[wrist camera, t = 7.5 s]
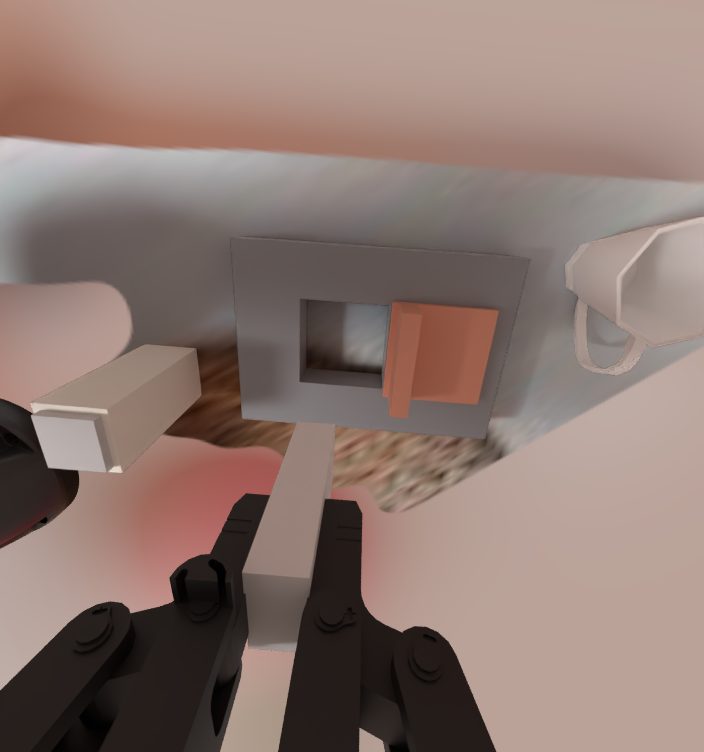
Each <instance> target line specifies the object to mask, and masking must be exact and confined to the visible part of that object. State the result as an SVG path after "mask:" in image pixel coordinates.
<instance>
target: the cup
mask: <svg viewBox="0 0 704 752" xmlns="http://www.w3.org/2000/svg"><path fill="white" fill-rule="evenodd" d="M565 280H566V288H567V289H569V290H570V291H572V292H573V293H575V294H576V295H577V296H578V300H577V303H576V306H575V315H574V347H575V352H576V356H577V359H578V361H579V362H580V363H581V365H582V366H583V367H584V368H586V369H588V370H590V371H592V372H597V373H603V374H609V375H619V374H621V373H624V372H626V371H629V370H631V368H632V367H633V366H634V365H635V364H636V363H637V362H638V360H639V359H640V357H641V355H642V353H643V352H644V350H645V348H646V345H648V346H650V347H651V348H654V347H659V346H664V345H668V344H673V343H677V342H682V341H686V340H691V339H695V338H700V337H704V216H700V217H695V218H690V219H686V220H681V221H677V222H672V223H667V224H661V225H656V226H651V227H646V228H641V229H637V230H634V231H630V232H626V233H623V234H619V235H615V236H611V237H606V238H602V239H599V240H595V241H591V242H587V243H584V244H581V245H580V247H579V248H578V249H577V250H576V252H575V253H574V254H573V255H572V257H571V258H570V259H569V261H568V262H567V263H566V264H565ZM588 305H589V306H590V307H592V308H593V309H595V310H596V311H598V312H599V313H600V314H602V315H603V316H604V317H606V318H607V319H609V320H610V321H612V322H613V323H615V324H616V325H618V326H619V327H621V328H622V329H624V330H625V331H627V332H628V333H629V335H628V339H627V344H626V347H625V350H624V353H623V356H622V359H621V360H620V361H619V362H618V363H617V364H616V365H613V366H611V367H608V368H606V369H603V368H601V367H598V366H596V365H595V364H594V363H593V361H592V360H591V359H590V357H589V353H588V347H587V335H586V318H587V309H588Z"/></svg>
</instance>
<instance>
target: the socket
mask: <svg viewBox="0 0 704 752" xmlns="http://www.w3.org/2000/svg"><path fill="white" fill-rule="evenodd" d="M230 242H231V257H232V272H233V287H234V302H235V317H236V332H237V348H238V363H239V378H240V393H241V408H242V419H251V420H263V421H275V422H287V423H297V421H299V422H312V423H326V424H335V427H346V428H358V429H370V430H381V431H393V432H405V433H417V434H429V435H441V436H452V437H464V438H476V439H485V436H486V432H487V429H488V425H489V421H490V417H491V413H492V409H493V405H494V401H495V397H496V393H497V389H498V385H499V381H500V377H501V373H502V369H503V365H504V361H505V357H506V353H507V349H508V345H509V341H510V337H511V333H512V329H513V325H514V321H515V318H516V314H517V310H518V306H519V302H520V298H521V294H522V290H523V286H524V282H525V278H526V274H527V270H528V266H529V262H530V259H527V258H521V257H516V256H508V255H494V254H480V253H466V252H452V251H438V250H424V249H411V248H397V247H383V246H369V245H355V244H341V243H327V242H314V241H300V240H286V239H272V238H258V237H231V238H230ZM307 299H308V300H321V301H334V302H348V303H361V304H374V305H387V306H388V316H387V325H386V335H385V344H384V353H383V363H382V372H381V374H373V373H361V372H348V371H336V370H323V369H311V368H306V339H307ZM393 301H397V302H410V303H423V304H436V305H450V306H463V307H476V308H489V309H497V310H499V314H498V318H497V322H496V327H495V331H494V335H493V340H492V344H491V348H490V352H489V357H488V361H487V365H486V370H485V374H484V378H483V383H482V387H481V391H480V396H479V400H478V404H477V405H474V404H462V403H450V402H438V401H425V400H413V399H410V404H409V410H408V417H407V418H397V417H390V413H389V403H388V397H383V385H384V376H385V367H386V358H387V349H388V340H389V331H390V322H391V313H392V304H393Z"/></svg>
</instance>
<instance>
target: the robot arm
mask: <svg viewBox="0 0 704 752" xmlns="http://www.w3.org/2000/svg"><path fill="white" fill-rule="evenodd" d="M31 415H32V413H31V412H29V411H27V410H26V409H24V408H22V407H20V406H18V405H16V404H14V403H11V402H9V401H6V400H4V399H0V549H1V548H3V547H4V546H6V545H8V544H10V543H12V542H14V541H16V540H18V539H20V538H22V537H23V536H26V535H27V534H29V533H31V532H33V531H35V530H37V529H39V528H41V527H43V526H45V525H47V524H48V523H49V522H51V521H52V520H53V519H55V518H56V517H57V516H58V515H59V514H60V513H61V512H62V511H63V510H65V509H66V508H67V507H68V506H69V505H70V504H71V503H72V502H73V500H74V499H75V497H76V495H77V492H78V488H79V474H78V470H68V469H57V468H48V466H47V463H46V460H45V457H44V454H43V451H42V448H41V445H40V442H39V439H38V436H37V433H36V430H35V427H34V424H33V421H32V418H31ZM334 441H335V424H326V423H312V422H299V421H297V424H296V427H295V429H294V432H293V435H292V437H291V440H290V443H289V446H288V448H287V451H286V454H285V457H284V459H283V462H282V465H281V467H280V471H279V473H278V476H277V478H276V481H275V484H274V486H273V489H272V492H271V495H260V494H247V493H246V494H245V495H244V496H243V497H242V498H241V499H240V500H238V501H237V502H236V503H235V504H234V506H233V508H232V510H231V512H230V514H229V516H228V518H227V521H226V522H225V524H224V526H223V528H222V532H221V533H220V535H219V537H218V539H217V541H216V543H215V545H214V547H213V549H212V551H211V553H210V554H205V555H199V556H196V557H194V558H191V559H189V560H187V561H186V562H185V563H183V564H182V565H180V566H179V567H178V568H177V569H176V570H175V571H174V573H173V574H172V575H171V576H170V583H171V588H172V593H173V598H174V601H173V602H171V603H169V604H166V605H163V606H160V607H156V608H152V609H148V610H143V611H139V612H135V613H130V611H129V609H128V608H127V607H126V606H125V605H124V604H122V603H119V602H106V603H102V604H97V605H95V606H93V607H91V608H89V609H87V610H85V611H83V612H82V613H80V614H79V615H78V616H77V617H75V618H74V619H73V620H71V621H70V622H69V623H68V624H67V625H66V626H65V627H64V628H63V629H62V630H61V631H60V632H59V633H58V634H57V635H56V636H55V637H54V638H53V639H52V640H51V641H50V642H49V643H48V644H47V645H46V646H45V647H44V648H43V649H42V650H41V651H40V652H39V653H38V654H37V655H36V656H35V657H34V658H33V659H32V660H31V661H30V662H29V663H28V664H27V665H26V666H25V667H24V668H23V669H22V670H21V671H20V672H19V673H18V674H17V675H16V676H15V677H13V679H11V680H10V681H9V683H8V684H7V685H5V686H4V687H3V688H2V689H1V690H0V752H220V749H221V746H222V742H223V739H224V735H225V732H226V728H227V725H228V721H229V717H230V714H231V710H232V707H233V703H234V700H235V696H236V693H237V689H238V685H239V682H240V678H241V671H242V660H241V658H242V654H243V651H244V647H245V644H246V641H247V637H248V648H249V649H259V650H271V651H283V652H294V653H295V658H294V664H293V669H292V675H291V681H290V687H289V693H288V698H287V704H286V709H285V715H284V721H283V727H282V733H281V738H280V744H279V750H278V752H359V727H360V728H361V729H363V730H365V731H367V732H368V733H370V734H372V735H374V736H375V737H377V738H379V739H381V740H382V741H383V744H384V749H385V752H496V750H495V748H494V745H493V743H492V740H491V738H490V735H489V733H488V731H487V728H486V726H485V723H484V721H483V719H482V716H481V714H480V711H479V709H478V706H477V704H476V702H475V699H474V697H473V694H472V692H471V690H470V687H469V685H468V682H467V680H466V678H465V675H464V673H463V670H462V668H461V666H460V663H459V661H458V658H457V656H456V654H455V652H454V650H453V649H452V647H451V645H450V644H449V642H448V641H447V640H446V639H445V638H444V637H442V636H441V635H440V634H439V633H438V632H436V631H434V630H432V629H430V628H427V627H417V626H414V627H412V628H409V629H407V630H405V631H403V633H402V632H400V631H398V630H395V629H393V628H391V627H389V626H386V625H385V624H383V623H381V622H380V621H378V620H376V619H375V618H374V617H373V616H372V615H371V614H370V613H369V611H368V610H367V608H366V607H365V605H364V602H363V600H362V596H361V553H362V512H361V510H360V509H359V506H358V504H357V502H356V501H348V500H335V499H330V494H331V487H332V480H333V461H334Z"/></svg>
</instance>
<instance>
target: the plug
mask: <svg viewBox="0 0 704 752" xmlns="http://www.w3.org/2000/svg"><path fill="white" fill-rule="evenodd" d="M201 396H202V393H201V384H200V375H199V367H198V358H197V349H196V348H186V347H174V346H161V345H149V344H144V345H142V346H140V347H138V348H136V349H134V350H133V351H131V352H129V353H127V354H125V355H123V356H121V357H119V358H117V359H115V360H113V361H111V362H109V363H107V364H105V365H103V366H101V367H99V368H97V369H95V370H93V371H91V372H89V373H87V374H85V375H83V376H82V377H80V378H78V379H76V380H74V381H72V382H70V383H68V384H66V385H64V386H62V387H60V388H58V389H56V390H54V391H52V392H50V393H48V394H46V395H44V396H42V397H40V398H38V399H36V400H35V401H32V402H31V403H30V404H31V407H32V410H33V413H34V414H32V415H31V418H32V421H33V424H34V427H35V430H36V433H37V436H38V439H39V442H40V445H41V448H42V451H43V454H44V457H45V460H46V463H47V466H48V468H57V469H68V470H79V471H90V472H102V473H107V472H114V473H123V472H124V471H125V470H126V469H127V468H128V467H129V466H130V465H131V464H132V463H133V462H134V461H135V460H136V459H137V458H138V457H139V456H140V455H141V454H142V453H143V452H144V451H145V450H146V449H147V448H148V447H150V446H151V444H153V443H154V442H155V441H156V439H158V438H159V437H160V436H161V435H162V434H163V433H164V432H165V431H166V430H167V429H168V428H169V427H170V426H171V425H172V424H173V423H174V422H175V421H176V420H177V419H178V418H179V417H180V416H181V415H182V414H183V413H184V412H185V411H186V410H187V409H188V408H189V407H190V406H191V405H192V404H193V403H194V402H195V401H196V400H197V399H198V398H200V397H201Z"/></svg>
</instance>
